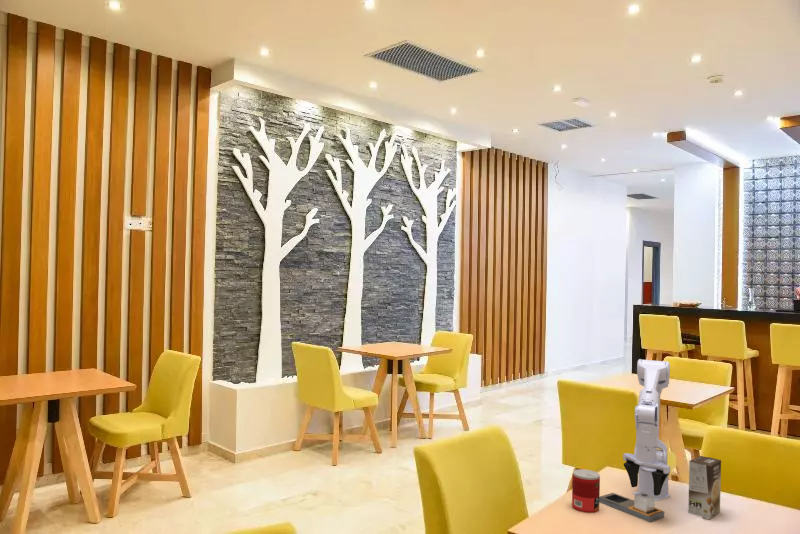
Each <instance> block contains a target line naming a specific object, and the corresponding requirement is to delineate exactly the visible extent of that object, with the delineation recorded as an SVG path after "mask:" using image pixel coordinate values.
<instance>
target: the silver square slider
mask: <svg viewBox="0 0 800 534" xmlns="http://www.w3.org/2000/svg"><path fill="white" fill-rule="evenodd" d="M633 496H634V509H636V510H639V511H641V512H644V513H646V514H649V513H652V512H654V508H655V502H654V500H655V496H653V495H650V494H647V493H645V492H640V493H637V494H635V495H634V494H633Z"/></svg>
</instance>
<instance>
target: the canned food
mask: <svg viewBox="0 0 800 534" xmlns="http://www.w3.org/2000/svg"><path fill="white" fill-rule="evenodd" d="M600 485H601V476H600V474H599V472H596V471H594V470H590V469H583V468H582V469H581V468H579V469H575V470H574V469H573V470H572V489H571V490H572V491H571V505H572V508H573V509H574V510H576V511H578V512H581V513H588V514H592V513H596V512H598V511H599V510H600V502H599V497H600V496H601V495H600V492H601V491H600V490H601V489H600V487H601V486H600Z"/></svg>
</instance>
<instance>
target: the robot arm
mask: <svg viewBox="0 0 800 534" xmlns="http://www.w3.org/2000/svg"><path fill="white" fill-rule="evenodd" d="M636 364H637V365H636V375H637V379H638V382H639V385H640V386H642V387H643V388H642V389H641V390H640V391H639V396H638V401H637V405H635V407H634V422H635V430H636V432H635V433H636V435H635V437H636V438H635V439H636V441H635V446H634V452H633V454H632V453H628V452H627V453H623V455H622V457H623V458H622V460H623V461H625V462H624V463H623V466H624V469H625V471H626V473H627V475H628V479H629V482H630V486H631V488H637V487H638V489H637V491H634V492H632V495H633V496H634V495H635V494H637V493H640V492H645V493H647V494H650V495H653V496H655V500H654V503H655V502H658V501H660V500H661V501H662V500H664V499H667V498H670V497H672V496H671V494H669V476H670V473H671V466H670V465H668V454H669V453H668V447H667V445H666V444H665V443H664V442H663V441H662V440H661V439H660V437H659V435H660V417H661V416H660V413H661V395H662V392H663V390H664V389H666V388H669V385H670V377H671V376H670V374H671V363H670V362H669V361H668V360H653V359H652V360H650V359H642V358H639V359H638V360H637V363H636Z"/></svg>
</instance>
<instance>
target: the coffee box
mask: <svg viewBox="0 0 800 534" xmlns="http://www.w3.org/2000/svg"><path fill="white" fill-rule="evenodd" d="M688 463H689V465H688V466H689V467H688V469H689V470H688V506H687V507H688V509H687V513H688V514H691V515H694V516H697V517H701V518H702V519H706V520H711V519H712V518H714V517H715V516H717V515H718V514H720V512H721V486H722V485H721V481H722V479H721V478H722V460H721V459H718V458H713V457H708V456H703V455H700V456H697V457H695V458H693V459H690V460H689V461H688Z"/></svg>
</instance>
